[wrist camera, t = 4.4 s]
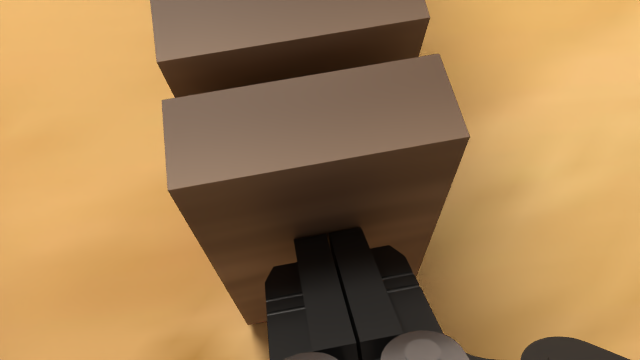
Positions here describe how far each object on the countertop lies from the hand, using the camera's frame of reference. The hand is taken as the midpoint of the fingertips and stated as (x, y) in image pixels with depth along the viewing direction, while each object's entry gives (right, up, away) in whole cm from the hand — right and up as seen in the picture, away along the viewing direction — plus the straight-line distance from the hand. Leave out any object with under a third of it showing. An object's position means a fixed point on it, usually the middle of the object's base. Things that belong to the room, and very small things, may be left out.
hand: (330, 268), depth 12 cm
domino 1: (-1, +2, +7) cm, 7 cm away
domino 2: (0, -1, +5) cm, 5 cm away
